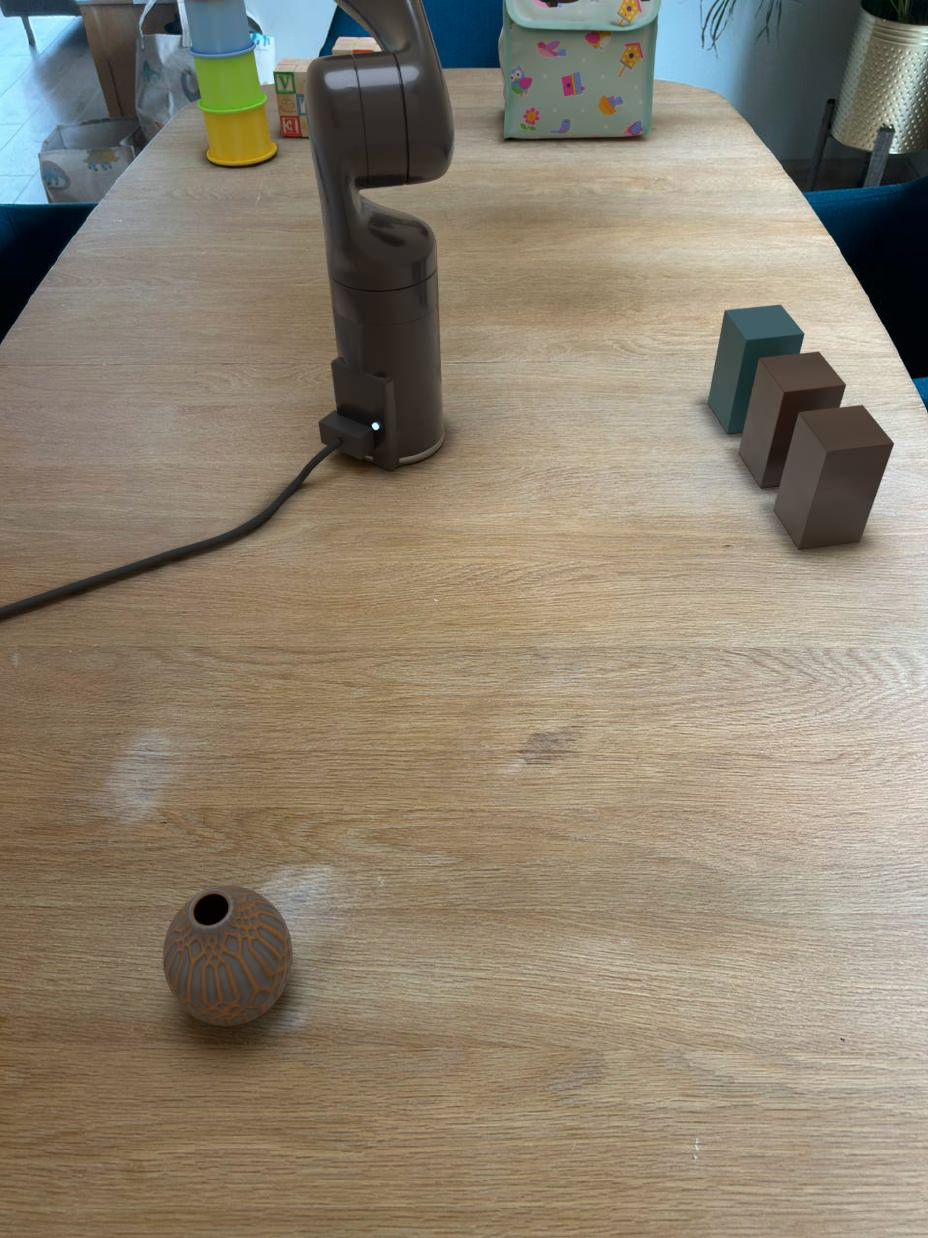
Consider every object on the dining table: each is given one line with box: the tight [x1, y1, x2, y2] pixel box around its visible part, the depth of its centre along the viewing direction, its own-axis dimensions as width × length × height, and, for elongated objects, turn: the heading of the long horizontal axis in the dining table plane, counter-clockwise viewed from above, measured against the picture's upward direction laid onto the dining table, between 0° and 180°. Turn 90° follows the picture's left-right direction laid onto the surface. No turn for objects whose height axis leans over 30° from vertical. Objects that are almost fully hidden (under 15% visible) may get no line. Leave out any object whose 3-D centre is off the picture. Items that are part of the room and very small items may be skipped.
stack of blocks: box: [272, 36, 382, 138], centre depth 149 cm, size 21×6×12 cm, turn 84°
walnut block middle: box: [738, 351, 847, 489], centre depth 88 cm, size 6×6×10 cm
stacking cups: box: [183, 0, 278, 167], centre depth 135 cm, size 10×10×35 cm
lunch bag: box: [497, 0, 662, 140], centre depth 144 cm, size 23×16×27 cm
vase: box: [162, 885, 294, 1027], centre depth 55 cm, size 7×7×9 cm
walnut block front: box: [773, 404, 895, 550], centre depth 82 cm, size 6×6×10 cm
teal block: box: [707, 304, 805, 435], centre depth 94 cm, size 6×6×10 cm
